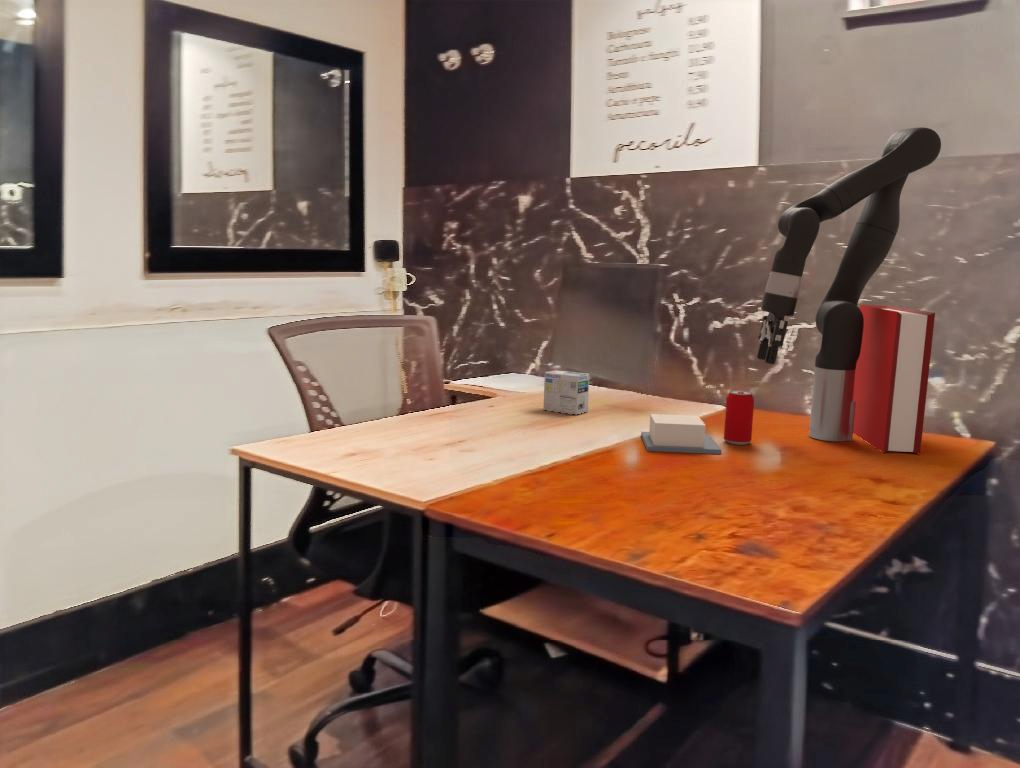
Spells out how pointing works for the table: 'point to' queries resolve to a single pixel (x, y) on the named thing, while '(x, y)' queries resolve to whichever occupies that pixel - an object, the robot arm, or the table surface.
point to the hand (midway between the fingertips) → (765, 361)
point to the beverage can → (739, 417)
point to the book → (893, 377)
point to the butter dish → (678, 435)
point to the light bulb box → (566, 392)
